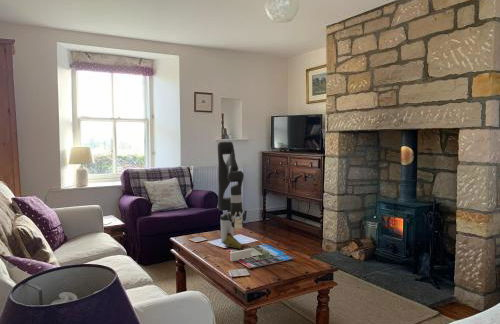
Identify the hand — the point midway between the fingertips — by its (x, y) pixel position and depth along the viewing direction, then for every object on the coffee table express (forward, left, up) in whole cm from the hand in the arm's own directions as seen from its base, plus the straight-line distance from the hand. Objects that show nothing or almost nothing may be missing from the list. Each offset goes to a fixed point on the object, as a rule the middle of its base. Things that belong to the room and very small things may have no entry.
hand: (237, 226), depth 234 cm
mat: (0, +11, -19) cm, 22 cm away
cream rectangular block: (+8, -1, -19) cm, 21 cm away
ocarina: (-16, +3, -19) cm, 25 cm away
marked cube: (0, 0, -1) cm, 1 cm away
